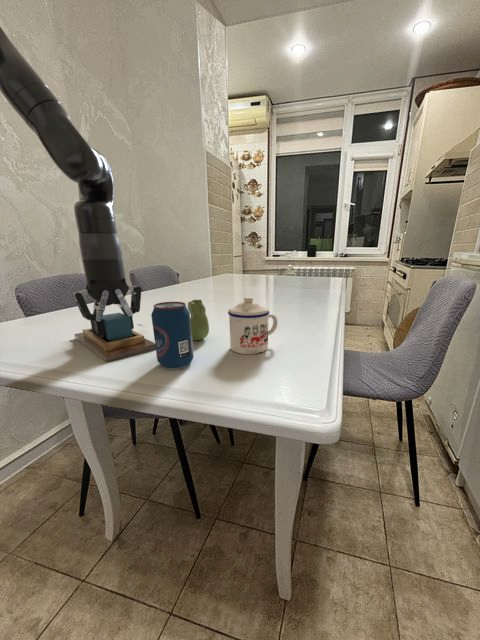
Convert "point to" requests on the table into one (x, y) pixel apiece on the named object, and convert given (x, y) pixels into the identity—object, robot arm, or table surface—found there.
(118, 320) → the teal block
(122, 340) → the frame
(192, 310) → the pear
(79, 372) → the table surface
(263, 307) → the teacup with lid
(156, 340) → the soda can
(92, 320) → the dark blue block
